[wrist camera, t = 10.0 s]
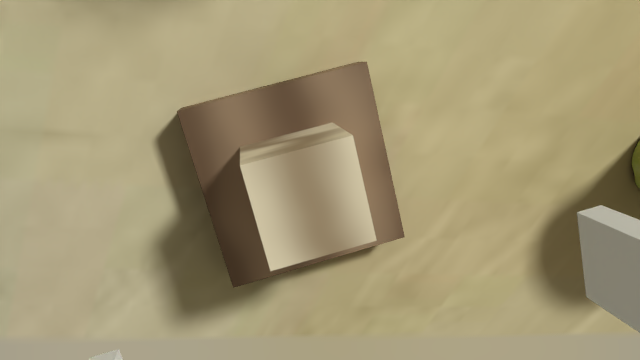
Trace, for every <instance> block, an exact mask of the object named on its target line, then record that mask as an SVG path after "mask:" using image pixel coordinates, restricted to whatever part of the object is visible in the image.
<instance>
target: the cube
mask: <svg viewBox="0 0 640 360" xmlns="http://www.w3.org/2000/svg"><path fill="white" fill-rule="evenodd" d="M240 168H241V171H242V175H243V178H244V182H245V185H246V189H247V192H248V196H249V199H250V202H251V206H252V209H253V213H254V216H255V220H256V223H257V227H258V230H259V234H260V237H261V240H262V244H263V247H264V251H265V254H266V258H267V261H268V265H269V268H270V271H273V270H277V269H280V268H284V267H287V266H291V265H294V264H298V263H301V262H304V261H308V260H311V259H315V258H318V257H322V256H325V255H329V254H332V253H336V252H339V251H343V250H346V249H349V248H353V247H356V246H360V245H363V244H367V243H370V242H374V241H377V240H376V235H375V231H374V227H373V222H372V218H371V213H370V209H369V204H368V200H367V196H366V191H365V187H364V182H363V178H362V173H361V169H360V165H359V160H358V156H357V151H356V147H355V142H354V138H353V135H352V134H350V133H348V132H347V131H345V130H344V129H342V128H341V127H339V126H337V125H336V124H334V123H333V122H332V123H329V124H325V125H321V126H317V127H313V128H310V129H306V130H302V131H298V132H294V133H291V134H287V135H283V136H279V137H276V138H272V139H268V140H264V141H260V142H257V143H253V144H249V145H245V146H241V147H240Z"/></svg>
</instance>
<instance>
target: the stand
mask: <svg viewBox="0 0 640 360" xmlns="http://www.w3.org/2000/svg"><path fill="white" fill-rule="evenodd" d="M177 113H178V116H179V119H180V123H181V126H182V129H183V132H184V135H185V138H186V141H187V144H188V147H189V151H190V154H191V157H192V160H193V163H194V166H195V169H196V172H197V175H198V179H199V182H200V185H201V188H202V191H203V194H204V197H205V200H206V204H207V207H208V210H209V213H210V216H211V219H212V222H213V225H214V228H215V232H216V235H217V238H218V241H219V244H220V247H221V250H222V253H223V257H224V260H225V263H226V266H227V269H228V272H229V275H230V278H231V281H232V285H233V288H234V287H237V286H241V285H244V284H247V283H251V282H254V281H257V280H261V279H264V278H268V277H271V276H274V275H278V274H281V273H284V272H288V271H291V270H295V269H298V268H301V267H305V266H308V265H312V264H315V263H318V262H322V261H325V260H328V259H332V258H335V257H339V256H342V255H345V254H349V253H352V252H355V251H359V250H362V249H366V248H369V247H372V246H376V245H379V244H383V243H386V242H389V241H393V240H396V239H399V238H403V237H404V232H403V227H402V223H401V218H400V213H399V209H398V204H397V200H396V195H395V190H394V186H393V181H392V176H391V172H390V167H389V163H388V158H387V153H386V149H385V144H384V139H383V135H382V130H381V126H380V121H379V116H378V112H377V107H376V102H375V98H374V93H373V89H372V84H371V79H370V75H369V70H368V65H367V62H356V63H352V64H348V65H345V66H341V67H337V68H333V69H329V70H325V71H322V72H318V73H314V74H310V75H306V76H302V77H299V78H295V79H291V80H287V81H283V82H279V83H275V84H272V85H268V86H264V87H260V88H256V89H252V90H249V91H245V92H241V93H237V94H233V95H229V96H226V97H222V98H218V99H214V100H210V101H206V102H203V103H199V104H195V105H191V106H187V107H183V108H181V109H179V110H178V111H177ZM332 122H333V123H334V124H336V125H337V126H339V127H341V128H342V129H344V130H345V131H347V132H348V133H350V134H352V135H353V138H354V142H355V147H356V151H357V156H358V160H359V165H360V169H361V173H362V178H363V182H364V187H365V191H366V196H367V200H368V204H369V209H370V213H371V218H372V222H373V227H374V231H375V235H376V240H377V241H374V242H370V243H367V244H363V245H360V246H356V247H353V248H349V249H346V250H343V251H339V252H336V253H332V254H329V255H325V256H322V257H318V258H315V259H311V260H308V261H304V262H301V263H298V264H294V265H291V266H287V267H284V268H280V269H277V270H273V271H270V268H269V265H268V261H267V258H266V254H265V251H264V247H263V244H262V240H261V237H260V234H259V230H258V227H257V223H256V220H255V216H254V213H253V209H252V206H251V202H250V199H249V196H248V192H247V189H246V185H245V182H244V178H243V175H242V171H241V168H240V147H241V146H245V145H249V144H253V143H257V142H260V141H264V140H268V139H272V138H276V137H279V136H283V135H287V134H291V133H294V132H298V131H302V130H306V129H310V128H313V127H317V126H321V125H325V124H329V123H332Z"/></svg>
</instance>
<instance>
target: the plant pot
mask: <svg viewBox="0 0 640 360" xmlns="http://www.w3.org/2000/svg"><path fill="white" fill-rule="evenodd" d="M632 167H633V171H634V175H635V183H636V185H637V186H638V188H639V189H640V140H639V142H638V144H637V146H636V148H635V150H634V153H633V157H632Z"/></svg>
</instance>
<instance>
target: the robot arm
mask: <svg viewBox="0 0 640 360" xmlns="http://www.w3.org/2000/svg"><path fill="white" fill-rule="evenodd" d="M577 218H578V227H579V236H580V245H581V254H582V263H583V272H584V281H585V290H586V297H587V298H589V299H590V300H591V301H593V302H594V303H596V304H597V305H599V306H600V307H602V308H603V309H605V310H606V311H608V312H609V313H611V314H612V315H614V316H615V317H617V318H618V319H620V320H621V321H623V322H624V323H626V324H627V325H629V326H630V327H632V328H633V329H635V330H636V331H638V332H639V333H640V220H638V219H636V218H633V217H631V216H628V215H625V214H623V213H620V212H618V211H615V210H612V209H610V208H607V207H605V206H602V205H600V206H596V207H593V208H590V209H586V210H583V211H580V212H577ZM88 360H123V359H122V356H121V354H120V351H119V349H117V350H114V351H111V352H107V353H104V354H101V355H98V356H94V357H90V358H89V359H88Z"/></svg>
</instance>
